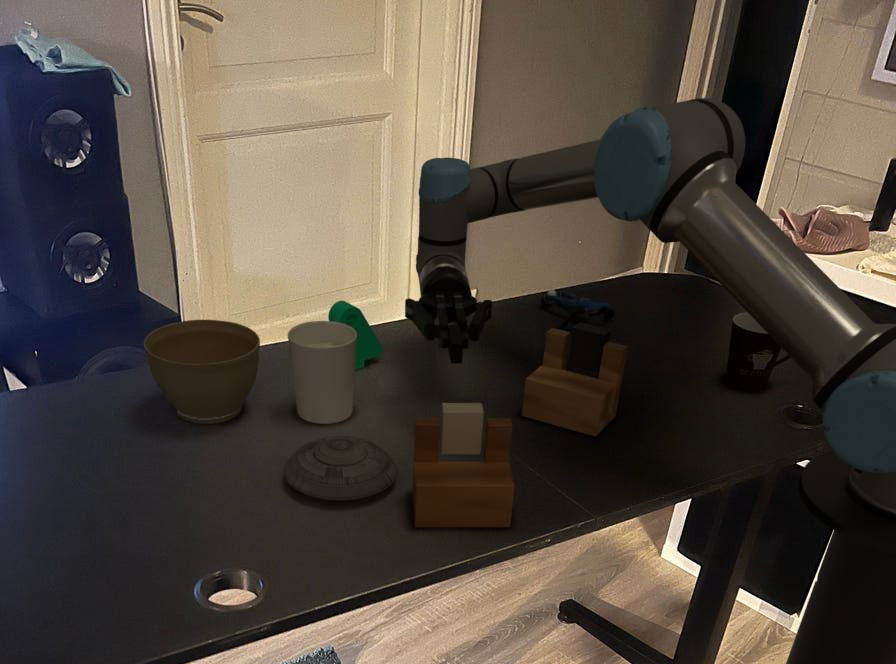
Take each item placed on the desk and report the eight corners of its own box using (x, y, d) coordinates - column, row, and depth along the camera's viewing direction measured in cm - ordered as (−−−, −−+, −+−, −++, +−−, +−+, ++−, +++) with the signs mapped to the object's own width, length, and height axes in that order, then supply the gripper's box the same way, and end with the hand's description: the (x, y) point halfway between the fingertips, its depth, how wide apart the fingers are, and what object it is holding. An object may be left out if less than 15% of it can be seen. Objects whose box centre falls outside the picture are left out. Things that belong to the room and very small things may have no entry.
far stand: (543, 396, 151) (551, 327, 144) (615, 416, 147) (628, 346, 140) (521, 416, 146) (528, 345, 139) (595, 436, 141) (607, 365, 134)
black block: (574, 359, 147) (580, 321, 144) (605, 366, 145) (611, 329, 142) (567, 365, 146) (572, 327, 142) (598, 373, 144) (604, 335, 140)
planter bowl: (234, 444, 136) (227, 371, 129) (133, 424, 140) (121, 352, 133) (282, 397, 148) (278, 328, 141) (188, 380, 152) (179, 312, 145)
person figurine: (525, 318, 180) (587, 338, 167) (525, 293, 178) (588, 312, 165) (571, 308, 185) (636, 327, 172) (572, 283, 182) (637, 300, 169)
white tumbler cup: (332, 433, 140) (330, 353, 132) (278, 415, 144) (273, 336, 136) (370, 408, 146) (370, 330, 139) (318, 391, 150) (315, 315, 143)
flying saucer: (359, 521, 122) (358, 483, 118) (262, 488, 127) (258, 451, 124) (417, 471, 132) (418, 434, 129) (325, 442, 137) (324, 407, 134)
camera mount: (355, 346, 164) (355, 285, 158) (382, 361, 159) (382, 299, 153) (295, 362, 158) (292, 299, 152) (321, 379, 154) (318, 315, 147)
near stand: (412, 494, 127) (414, 417, 120) (503, 494, 128) (510, 418, 121) (415, 527, 121) (417, 448, 114) (510, 527, 122) (518, 449, 115)
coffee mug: (714, 388, 155) (729, 327, 149) (722, 368, 161) (736, 308, 155) (789, 402, 152) (807, 340, 146) (794, 381, 158) (812, 321, 152)
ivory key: (440, 444, 125) (442, 402, 121) (478, 444, 125) (481, 402, 122) (441, 454, 123) (443, 412, 119) (480, 454, 123) (483, 412, 120)
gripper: (486, 315, 149) (503, 380, 131) (401, 314, 148) (407, 380, 130) (489, 265, 144) (508, 326, 126) (402, 264, 144) (408, 325, 125)
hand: (456, 353), depth 128 cm, fingers closed
